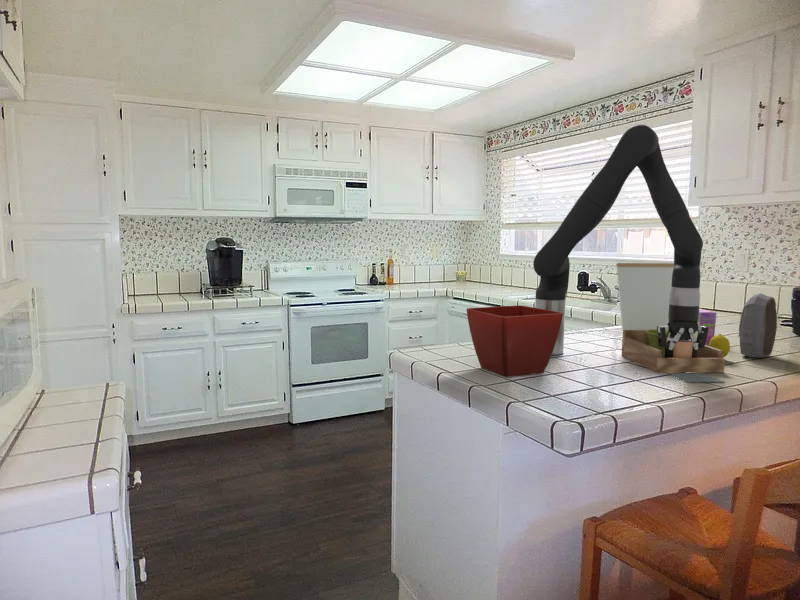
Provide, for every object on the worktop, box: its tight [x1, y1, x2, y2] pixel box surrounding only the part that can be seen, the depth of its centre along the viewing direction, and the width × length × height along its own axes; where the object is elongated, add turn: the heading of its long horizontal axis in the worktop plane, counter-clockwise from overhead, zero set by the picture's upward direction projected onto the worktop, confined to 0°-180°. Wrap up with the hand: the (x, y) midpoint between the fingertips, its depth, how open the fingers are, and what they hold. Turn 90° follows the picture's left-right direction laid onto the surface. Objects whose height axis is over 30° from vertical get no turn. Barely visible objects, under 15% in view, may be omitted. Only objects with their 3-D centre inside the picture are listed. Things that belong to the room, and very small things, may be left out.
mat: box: [669, 373, 726, 383], centre depth 142 cm, size 10×8×1 cm
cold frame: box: [621, 330, 726, 374], centre depth 158 cm, size 18×22×8 cm
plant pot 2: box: [646, 330, 674, 358], centre depth 163 cm, size 9×9×9 cm
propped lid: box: [615, 262, 674, 332], centre depth 174 cm, size 18×12×29 cm, turn 92°
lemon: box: [709, 333, 731, 358], centre depth 164 cm, size 6×6×8 cm
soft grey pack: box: [737, 293, 778, 358], centre depth 169 cm, size 15×8×20 cm, turn 130°
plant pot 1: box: [466, 305, 563, 378], centre depth 148 cm, size 19×19×17 cm
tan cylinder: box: [672, 339, 693, 358], centre depth 153 cm, size 6×6×8 cm
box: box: [694, 308, 717, 346], centre depth 191 cm, size 10×6×12 cm, turn 179°
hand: (680, 362), depth 153 cm, fingers open, 5 cm apart
